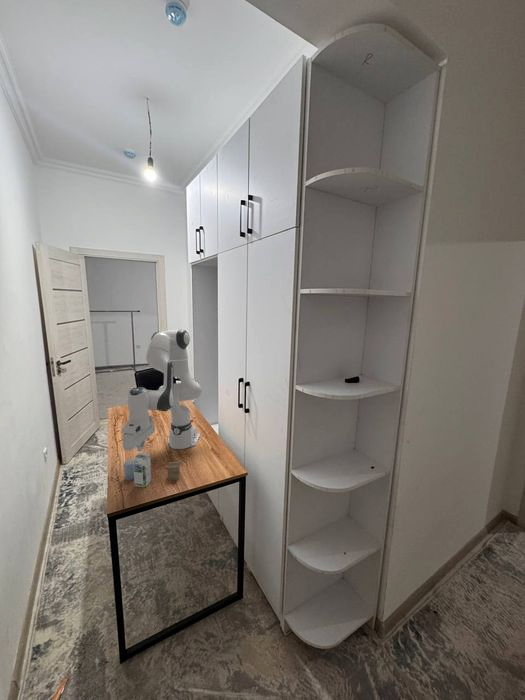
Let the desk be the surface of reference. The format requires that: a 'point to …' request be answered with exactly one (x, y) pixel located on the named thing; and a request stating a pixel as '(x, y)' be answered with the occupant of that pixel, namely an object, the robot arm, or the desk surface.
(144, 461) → the syrup box
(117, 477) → the desk surface
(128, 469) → the slate cylinder
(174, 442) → the robot arm
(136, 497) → the desk surface
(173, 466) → the walnut block
